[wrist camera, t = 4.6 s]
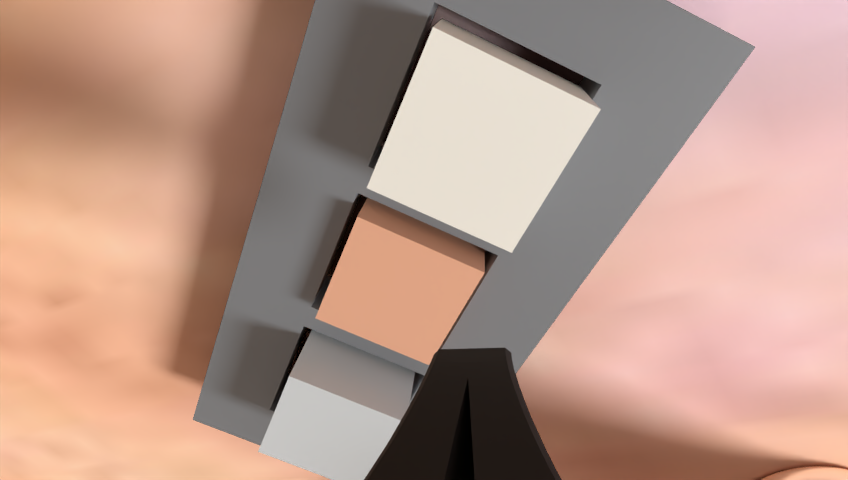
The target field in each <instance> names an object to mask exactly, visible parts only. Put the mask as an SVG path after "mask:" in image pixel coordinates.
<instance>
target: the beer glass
mask: <svg viewBox="0 0 848 480" xmlns="http://www.w3.org/2000/svg"><path fill="white" fill-rule="evenodd" d="M760 480H848V470H847V469H843V468H838V467H830V466H808V467H799V468H793V469H789V470H784V471H781V472H777V473H774V474H772V475H769V476H767V477H764V478H762V479H760Z"/></svg>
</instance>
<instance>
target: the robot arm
mask: <svg viewBox="0 0 848 480" xmlns="http://www.w3.org/2000/svg"><path fill="white" fill-rule="evenodd" d="M364 480H561V478H560V476H559V474H558V472H557V471H556V469H555V467H554V465H553V463H552V461H551V459H550V457H549V455H548V453H547V451H546V449H545V446H544V444H543V442H542V440H541V438H540V435H539V433H538V431H537V429H536V427H535V425H534V422H533V420H532V418H531V416H530V413H529V411H528V408H527V406H526V403H525V401H524V398H523V395H522V392H521V390H520V387H519V384H518V381H517V378H516V374H515V371H514V366H513V362H512V355H511V352H510V351H509V350H507V349H506V348H468V349H439V350H438V351H437V352H436V353H435V354H434V355H433V358H432V360H431V363H430V365H429V367H428V369H427V372H426V374H425V376H424V378H423V380H422V382H421V384H420V386H419V388H418V390H417V392H416V394H415V396H414V398H413V400H412V402H411V403H410V405H409V407H408V409H407V411H406V412H405V414H404V416H403V418H402V419H401V421H400V423H399V425H398V426H397V428H396V430H395V431H394V433H393V435H392V437H391V438H390V440H389V442H388V443H387V445H386V447H385V448H384V450H383V451H382V453H381V454H380V456H379V457H378V459H377V461H376V462H375V464H374V465H373V467H372V468H371V470H370V471H369V473H368V474H367V476H366V477H365V479H364Z"/></svg>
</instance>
